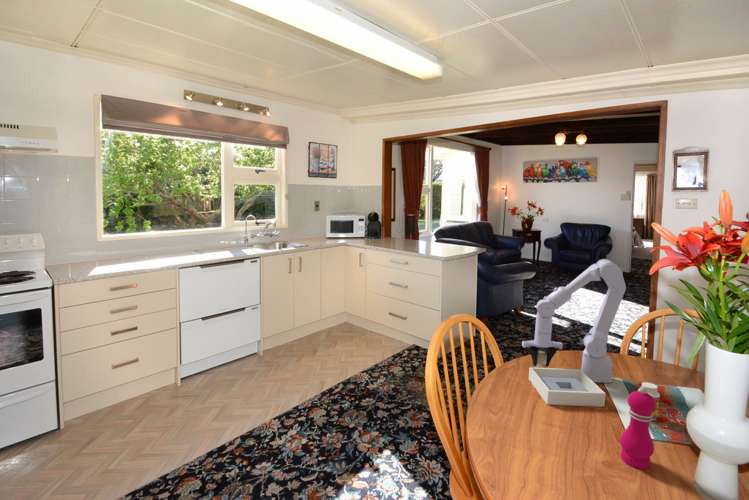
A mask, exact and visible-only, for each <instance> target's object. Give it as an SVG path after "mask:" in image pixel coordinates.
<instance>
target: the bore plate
mask: <svg viewBox="0 0 749 500" xmlns="http://www.w3.org/2000/svg"><path fill="white" fill-rule="evenodd" d="M541 380H542V381H543V382H544V384H545V385H546V386H547V387H548V389H549V390H557V391H584V392H589V391H588V390H587V389H586V388H585V387H584V386H583V385H582V384H581V383H580V382H579V381H578V380H577V379H576V378H553V377H541ZM561 388H570V389H561Z"/></svg>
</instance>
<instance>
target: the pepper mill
mask: <svg viewBox="0 0 749 500" xmlns="http://www.w3.org/2000/svg"><path fill="white" fill-rule="evenodd" d="M638 389H639V391H638V390H635V391H632V392H631V393H630V394H628V396H627V404H628V406H629V408H628V415H629V416H630V417H629V419H630V420H629V424H628V426H627V427H626V429H625V430H624V431H623V433H622V434H621V436H620V440H619V443H620V446H621V447H622V448H621V451H620V458H621V460H622V461H623V462H624V463H625V464H627V465H628V466H630V467H633V468H634V469H635V468H636V469H640V470H643V469H644V470H645V469H648V468H650V466H651V465H650V464H651V457H652V456H653V455H654V453H655V445H654V441H653V438H652V437H651V433H650V429H649V427H650V422H653V421H652V416H653V414H652V413H653V412H654V411H655V410H656V401H655V399H654V398H653V397H652V396H651V395H650V394H648V393H647V389H646V388H645V387H641V386H640V387H639V388H638Z"/></svg>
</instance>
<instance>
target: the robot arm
mask: <svg viewBox="0 0 749 500" xmlns="http://www.w3.org/2000/svg"><path fill="white" fill-rule="evenodd" d="M623 274H624V273H623V271H622V270H621V268H620V267H619V265H617V264H616V263H615V262H612V261H611V260H610V259H608V258H602V259H601V258H600V259H598V261H597V262H596V263H593V264H591V265H590V266H589V267H587V269H585V270H584V271H582V273H580V274H579V275H578V276H576V278H574V279H573V280H572V281H570V283H568V284H567V285H566V286H558V287H557V286H555V288H553V291H552V292H551V293H550V294H548V295H547V296H546V295H545V296H544V297H543V299H540V300H538V302H537V303H536V304H535V307H536V310H537V311H536V318H535V328H534V329H535V330H534V339H531V340H522V341H521V346H522V347H523V348H525V349H526V348H528V351H529V353H530V356H531V361H532V365H533V367H535V366H536V365H537V355H538V352H539V351H540V350H538V348H542V349H543V348H544V352H546V353H547V362H546V368H549V366H550V363H551V361H552V359H553V357H554V356H555V355H556V353H557V349H559V350H562V349H563V345H564V344H563V343H562V342H561V341H553V340H552V329H553V328H552V327H553V316H554V314H555V310H558V309H559V308H561V307H562V306H564V305H565V304H566V303H567V302H569V301H570V300H572V295H573V294H574V293H576V292H577V291H578V290H580V289H581V288H582V287H583V288H584V286H585V285H587V284H588V283H590V282H599V281H602V280H603V281H604V282H605V283H606V285H607V287H608V289H607V291H606V293H605V296H604V299H603V302H602V304H601V306H600V309H599V311H598V314H597V316H596V319H595V322H594V324H593V327H591V328H590V329H589V332H587V334H586V335H585V336H584V338H583V340H582V341H583V345H584V346H585V348H584V350H583V351H582V357H581V358H582V360H581V369H580V370H581V371H582V372H583V373H584V374H585V375H587V376H588V377H589V378H590V379H591V380H592V381H593V382H594V383H604V384H605V383H607V384H608V383H611V384H612V383H613V380H612V373H613V360H612V357H611V356H610V355H608V354H607V351H608V348H607V345H608V341H609V333H610V330H611V327H612V324H613V322H614V320H615V317H616V315H617V312H618V310H619V308H620V304H621V302H622V300H623V297H624V295H625V292H626V289H627V286H626V282H625V279H624V276H623Z"/></svg>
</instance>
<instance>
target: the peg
mask: <svg viewBox="0 0 749 500" xmlns="http://www.w3.org/2000/svg"><path fill="white" fill-rule="evenodd" d="M538 351H539V352H538V355H537V365H536V366H534V368H547V366H546V362H547V353H546V352H545V351H543V350H542V351H541V350H538Z"/></svg>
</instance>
